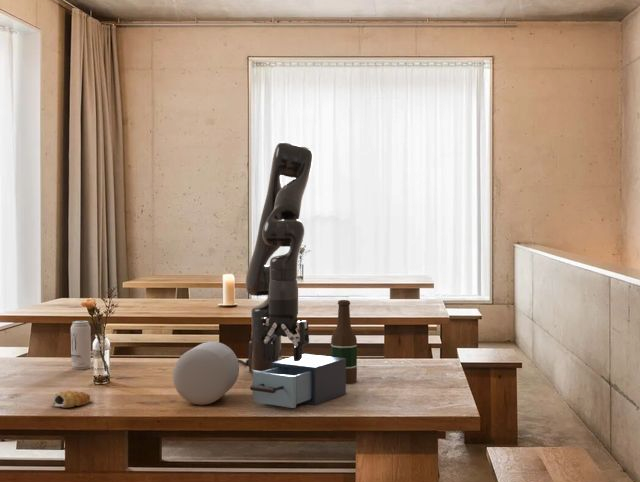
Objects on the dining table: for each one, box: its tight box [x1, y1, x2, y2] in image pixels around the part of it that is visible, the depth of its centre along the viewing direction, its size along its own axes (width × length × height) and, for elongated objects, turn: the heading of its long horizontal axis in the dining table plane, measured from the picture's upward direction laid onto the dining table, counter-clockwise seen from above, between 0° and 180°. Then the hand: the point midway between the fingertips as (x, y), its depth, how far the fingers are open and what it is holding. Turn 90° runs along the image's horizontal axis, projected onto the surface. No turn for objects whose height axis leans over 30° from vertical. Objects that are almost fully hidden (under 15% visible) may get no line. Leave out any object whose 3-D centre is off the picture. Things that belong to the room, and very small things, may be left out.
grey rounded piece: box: [159, 341, 240, 406], centre depth 223 cm, size 19×15×25 cm
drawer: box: [249, 367, 313, 409], centre depth 213 cm, size 20×13×8 cm, turn 149°
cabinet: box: [272, 353, 347, 405], centre depth 224 cm, size 16×14×10 cm
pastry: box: [51, 390, 91, 409], centre depth 214 cm, size 9×7×4 cm
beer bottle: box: [330, 299, 358, 385], centre depth 243 cm, size 8×8×24 cm
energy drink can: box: [70, 320, 92, 371], centre depth 264 cm, size 6×6×15 cm
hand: (283, 359), depth 213 cm, fingers open, 8 cm apart
